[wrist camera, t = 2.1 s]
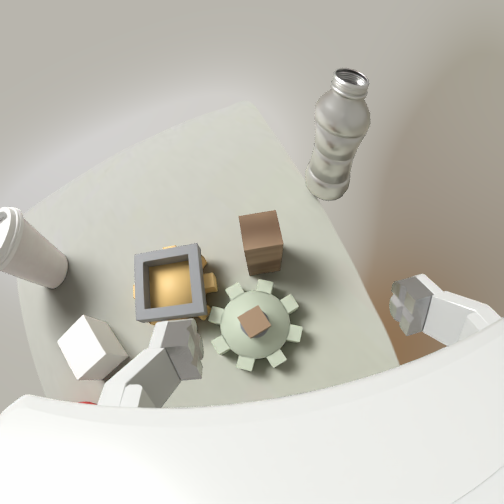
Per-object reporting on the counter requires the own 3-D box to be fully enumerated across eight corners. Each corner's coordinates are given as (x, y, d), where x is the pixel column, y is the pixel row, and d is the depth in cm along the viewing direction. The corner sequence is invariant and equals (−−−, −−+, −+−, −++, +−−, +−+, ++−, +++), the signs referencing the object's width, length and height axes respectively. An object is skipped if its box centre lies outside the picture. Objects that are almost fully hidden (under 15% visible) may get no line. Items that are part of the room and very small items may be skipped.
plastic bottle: (323, 213, 38) (356, 101, 20) (294, 182, 41) (305, 68, 22) (353, 193, 39) (395, 88, 21) (325, 164, 42) (347, 57, 23)
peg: (280, 270, 36) (283, 243, 28) (249, 275, 36) (244, 250, 28) (274, 242, 37) (275, 210, 29) (244, 247, 37) (238, 216, 29)
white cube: (82, 346, 33) (56, 341, 27) (107, 322, 34) (83, 314, 29) (102, 379, 31) (77, 380, 25) (129, 356, 32) (105, 353, 27)
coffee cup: (78, 241, 39) (22, 195, 25) (70, 297, 36) (3, 264, 22) (42, 247, 40) (-11, 208, 26) (34, 297, 36) (-27, 268, 22)
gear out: (222, 325, 33) (215, 320, 29) (143, 334, 33) (128, 330, 29) (212, 246, 37) (205, 232, 33) (140, 259, 37) (126, 247, 33)
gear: (316, 339, 32) (324, 336, 27) (240, 385, 30) (236, 390, 26) (269, 269, 36) (270, 255, 31) (197, 311, 34) (186, 304, 30)
